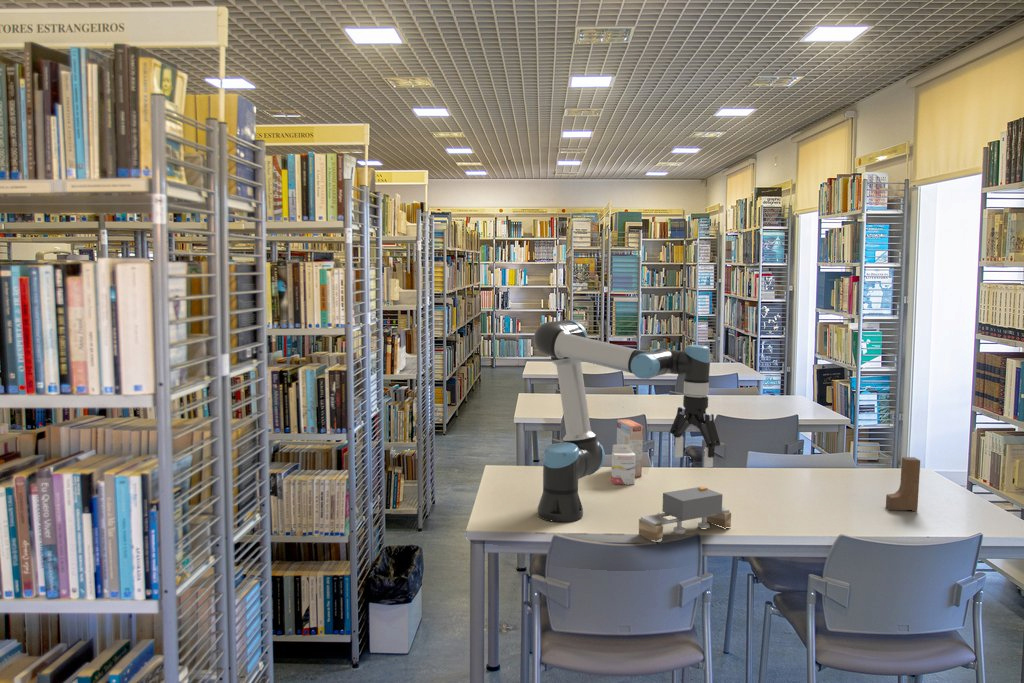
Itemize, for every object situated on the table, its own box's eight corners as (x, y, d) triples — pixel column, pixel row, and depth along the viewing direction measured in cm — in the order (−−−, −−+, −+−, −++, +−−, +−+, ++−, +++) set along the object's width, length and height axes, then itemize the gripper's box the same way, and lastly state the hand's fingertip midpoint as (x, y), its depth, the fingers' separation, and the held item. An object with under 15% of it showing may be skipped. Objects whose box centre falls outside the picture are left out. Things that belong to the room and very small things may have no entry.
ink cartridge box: (612, 485, 287) (613, 447, 285) (610, 481, 292) (611, 444, 290) (635, 485, 287) (636, 447, 286) (632, 481, 292) (633, 444, 290)
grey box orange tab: (681, 538, 229) (683, 499, 228) (661, 529, 237) (663, 491, 236) (721, 530, 236) (722, 492, 235) (700, 521, 245) (701, 484, 244)
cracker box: (642, 477, 298) (643, 425, 296) (628, 478, 297) (629, 425, 295) (629, 468, 311) (630, 418, 310) (615, 468, 310) (616, 419, 308)
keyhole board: (656, 543, 225) (656, 524, 224) (638, 534, 232) (639, 516, 232) (730, 528, 239) (731, 510, 238) (712, 520, 246) (712, 503, 246)
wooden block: (890, 510, 259) (893, 459, 257) (885, 506, 263) (888, 456, 261) (917, 511, 258) (920, 460, 256) (911, 507, 262) (914, 457, 261)
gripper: (734, 400, 224) (731, 470, 226) (678, 388, 246) (676, 452, 248) (715, 402, 220) (712, 473, 222) (660, 389, 242) (658, 454, 244)
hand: (693, 462), depth 235 cm, fingers open, 13 cm apart
